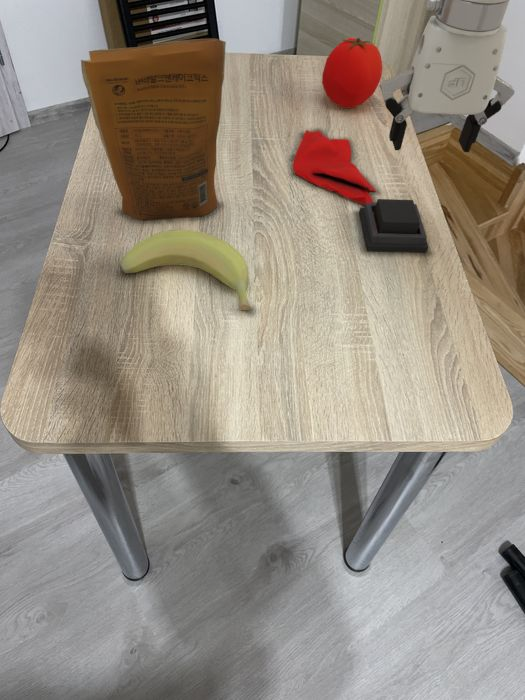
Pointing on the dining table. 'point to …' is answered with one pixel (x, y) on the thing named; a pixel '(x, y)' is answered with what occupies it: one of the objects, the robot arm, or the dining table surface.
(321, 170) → the cloth
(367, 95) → the tomato
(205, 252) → the banana
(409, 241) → the base pad
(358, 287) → the dining table surface
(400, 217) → the black pad
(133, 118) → the pancake mix bag
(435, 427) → the dining table surface
